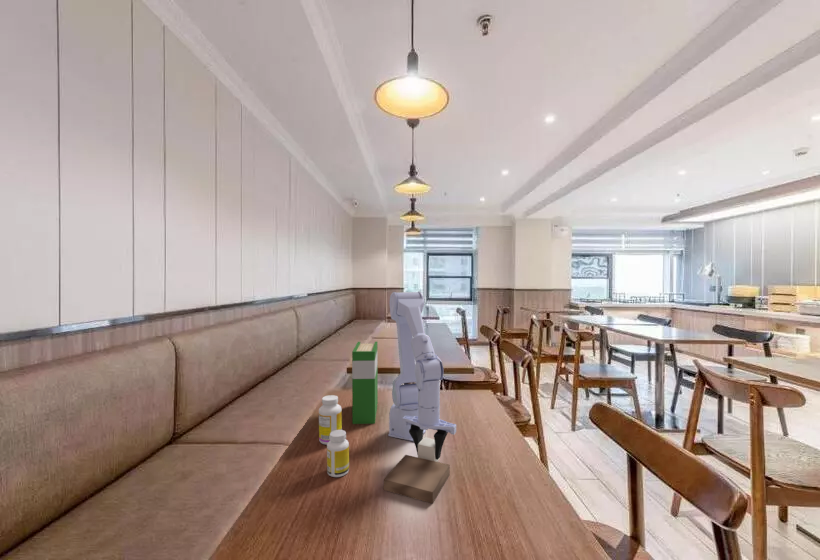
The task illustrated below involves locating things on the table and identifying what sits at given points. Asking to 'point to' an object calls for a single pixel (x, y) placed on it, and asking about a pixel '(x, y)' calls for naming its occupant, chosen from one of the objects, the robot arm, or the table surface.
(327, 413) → the supplement bottle
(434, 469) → the walnut block
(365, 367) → the hardback book
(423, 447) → the cream block
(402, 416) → the robot arm
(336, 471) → the supplement bottle
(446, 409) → the table surface
